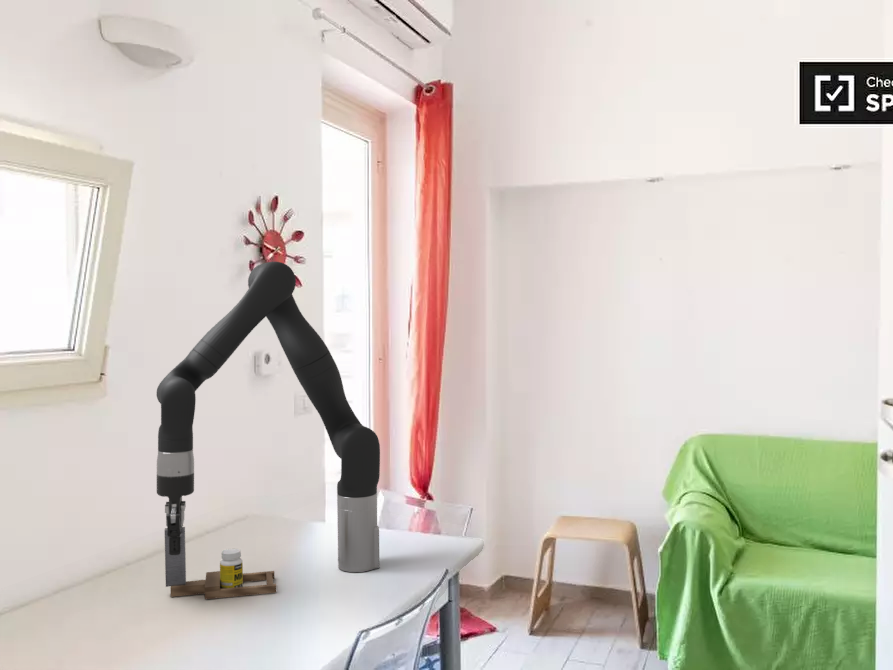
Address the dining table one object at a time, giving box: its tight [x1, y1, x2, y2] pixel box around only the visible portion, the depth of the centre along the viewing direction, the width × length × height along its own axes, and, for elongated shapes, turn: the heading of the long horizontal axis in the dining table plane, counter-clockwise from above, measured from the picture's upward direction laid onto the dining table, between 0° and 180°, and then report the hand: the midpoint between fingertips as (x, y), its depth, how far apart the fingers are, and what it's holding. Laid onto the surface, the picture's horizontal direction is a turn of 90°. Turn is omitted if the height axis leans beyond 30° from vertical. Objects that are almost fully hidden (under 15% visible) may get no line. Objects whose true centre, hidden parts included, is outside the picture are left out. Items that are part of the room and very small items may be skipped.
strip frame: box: [164, 526, 277, 600], centre depth 174 cm, size 23×10×14 cm, turn 104°
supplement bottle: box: [219, 548, 244, 589], centre depth 175 cm, size 5×5×8 cm
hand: (175, 552), depth 172 cm, fingers closed on strip frame
